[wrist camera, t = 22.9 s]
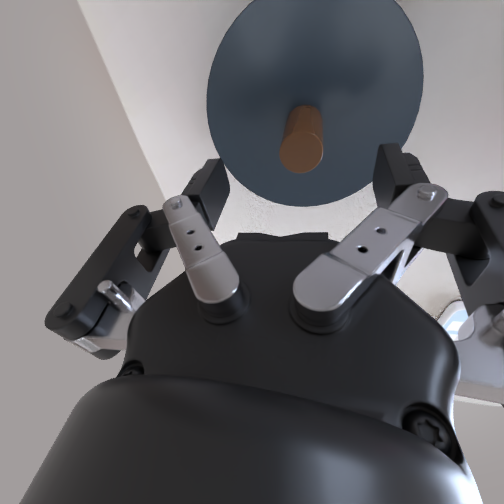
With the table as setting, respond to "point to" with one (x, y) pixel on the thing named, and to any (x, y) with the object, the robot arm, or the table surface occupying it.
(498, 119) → the table surface
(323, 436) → the robot arm
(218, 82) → the pan lid
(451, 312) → the calculator
